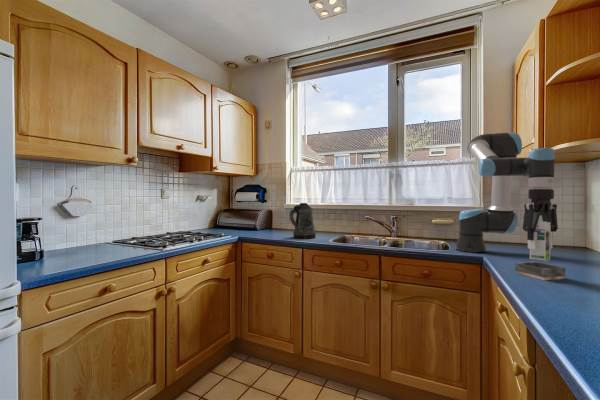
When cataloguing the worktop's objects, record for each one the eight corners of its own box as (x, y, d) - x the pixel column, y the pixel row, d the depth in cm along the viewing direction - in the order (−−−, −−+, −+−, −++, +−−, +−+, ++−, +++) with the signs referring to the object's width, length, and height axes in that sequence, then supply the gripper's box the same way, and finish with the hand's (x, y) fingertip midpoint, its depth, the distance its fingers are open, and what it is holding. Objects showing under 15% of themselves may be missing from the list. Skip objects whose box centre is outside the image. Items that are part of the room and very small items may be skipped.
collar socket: (535, 271, 117) (535, 261, 117) (565, 278, 106) (565, 267, 106) (515, 272, 114) (515, 262, 114) (544, 280, 104) (544, 269, 104)
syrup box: (529, 259, 110) (529, 221, 110) (531, 256, 114) (531, 220, 114) (548, 261, 106) (549, 222, 106) (550, 259, 110) (551, 221, 110)
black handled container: (319, 237, 211) (320, 203, 211) (306, 240, 194) (306, 203, 194) (300, 235, 220) (301, 202, 219) (286, 238, 203) (286, 203, 203)
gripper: (531, 188, 104) (530, 251, 104) (571, 189, 109) (570, 249, 109) (511, 188, 111) (510, 247, 111) (549, 189, 116) (548, 246, 116)
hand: (540, 248), depth 110 cm, fingers closed on syrup box, 7 cm apart
